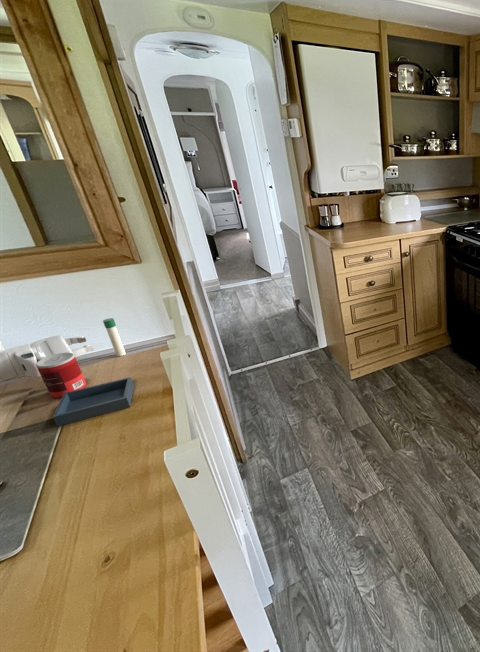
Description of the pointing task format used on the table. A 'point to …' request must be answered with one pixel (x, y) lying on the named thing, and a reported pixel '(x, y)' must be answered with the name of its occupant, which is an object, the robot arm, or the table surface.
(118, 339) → the marker
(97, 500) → the table surface
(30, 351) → the robot arm
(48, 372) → the canned food
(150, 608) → the table surface
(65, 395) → the tray
